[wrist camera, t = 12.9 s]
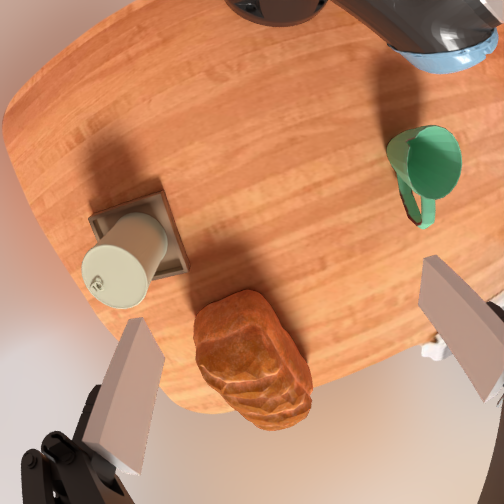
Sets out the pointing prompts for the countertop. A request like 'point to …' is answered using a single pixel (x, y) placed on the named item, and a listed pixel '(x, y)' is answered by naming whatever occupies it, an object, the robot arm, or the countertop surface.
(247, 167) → the countertop surface
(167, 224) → the tray
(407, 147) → the mug
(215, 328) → the bread
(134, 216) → the can
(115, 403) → the robot arm
